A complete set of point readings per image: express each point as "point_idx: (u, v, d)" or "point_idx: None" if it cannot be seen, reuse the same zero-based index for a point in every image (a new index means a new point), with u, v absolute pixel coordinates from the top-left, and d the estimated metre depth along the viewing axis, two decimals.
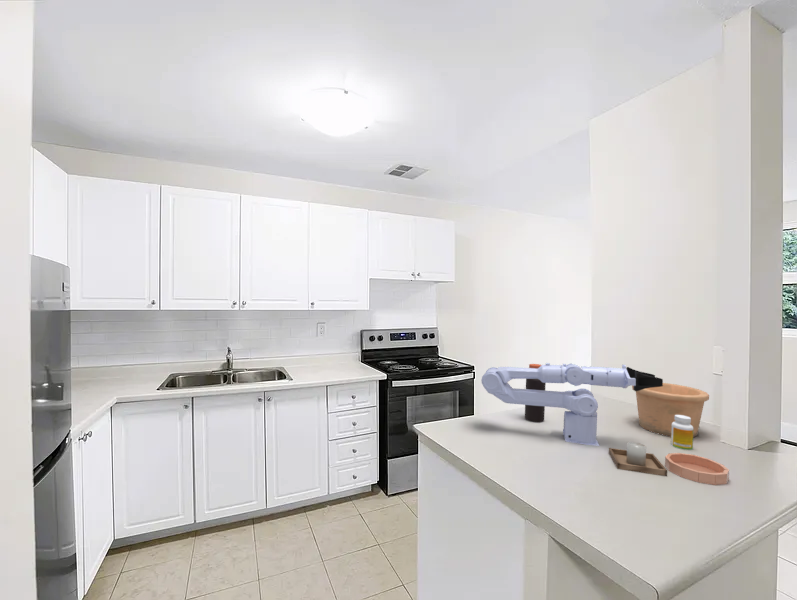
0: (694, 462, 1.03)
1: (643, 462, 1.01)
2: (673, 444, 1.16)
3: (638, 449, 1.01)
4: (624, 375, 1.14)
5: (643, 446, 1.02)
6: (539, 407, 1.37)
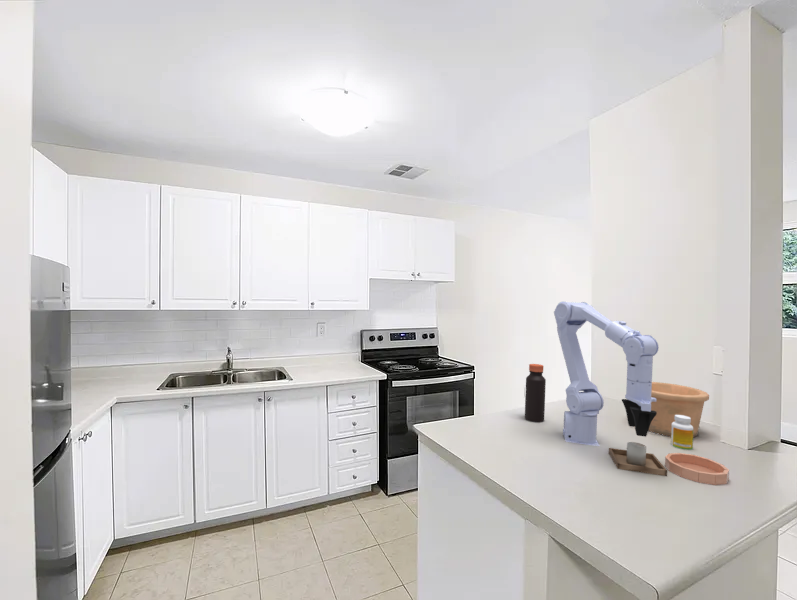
0: (694, 462, 1.03)
1: (643, 462, 1.01)
2: (673, 444, 1.16)
3: (638, 449, 1.01)
4: (646, 399, 1.00)
5: (643, 446, 1.02)
6: (539, 407, 1.37)
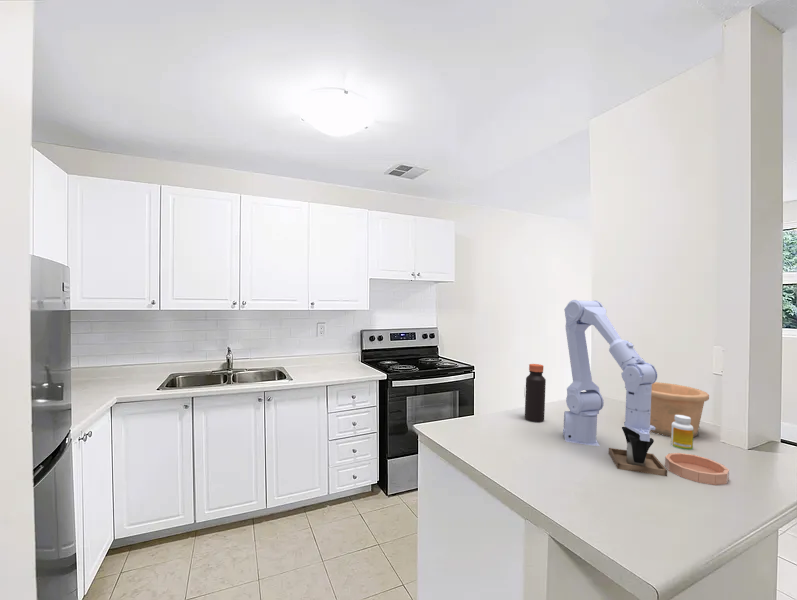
0: (694, 462, 1.03)
1: None
2: (673, 444, 1.16)
3: None
4: (645, 428, 1.00)
5: None
6: (539, 407, 1.37)
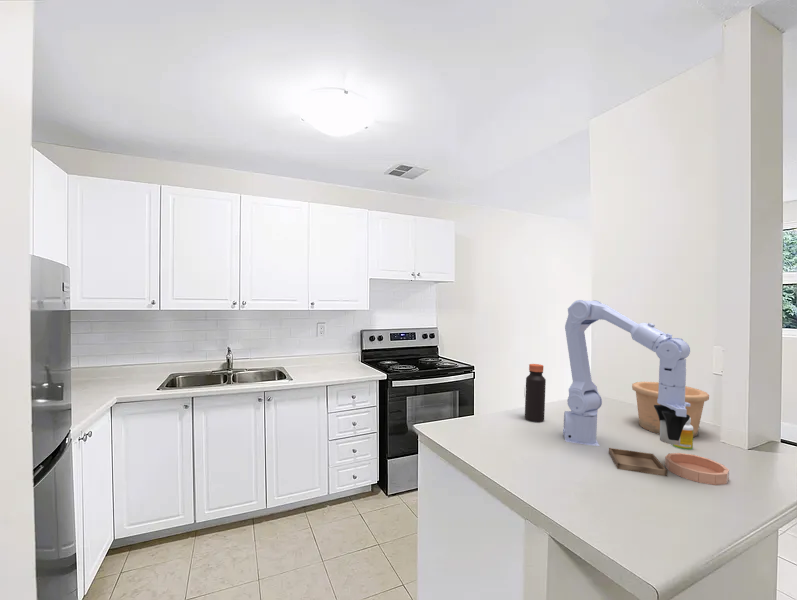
0: (694, 462, 1.03)
1: None
2: None
3: None
4: (680, 404, 0.97)
5: None
6: (539, 407, 1.37)
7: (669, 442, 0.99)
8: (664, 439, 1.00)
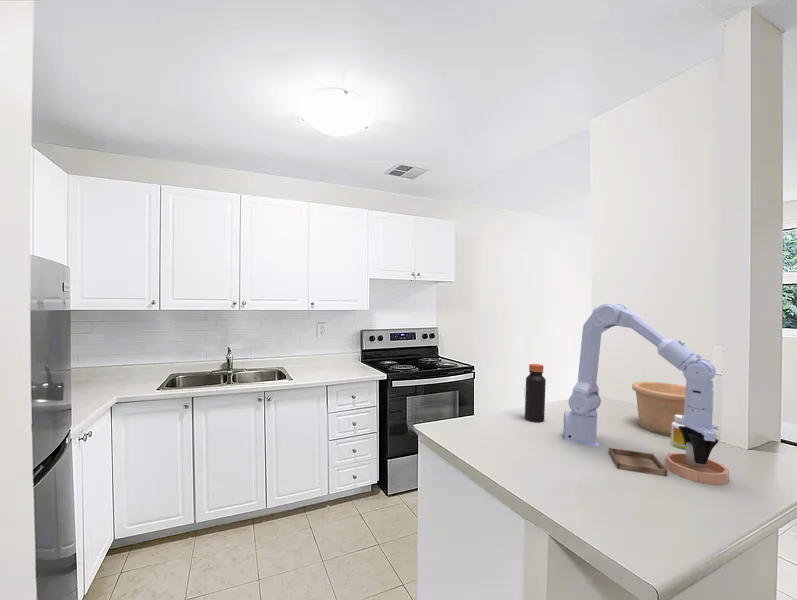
0: None
1: None
2: (673, 444, 1.16)
3: None
4: (707, 427, 0.96)
5: None
6: (539, 407, 1.37)
7: (696, 465, 0.97)
8: (691, 462, 0.98)
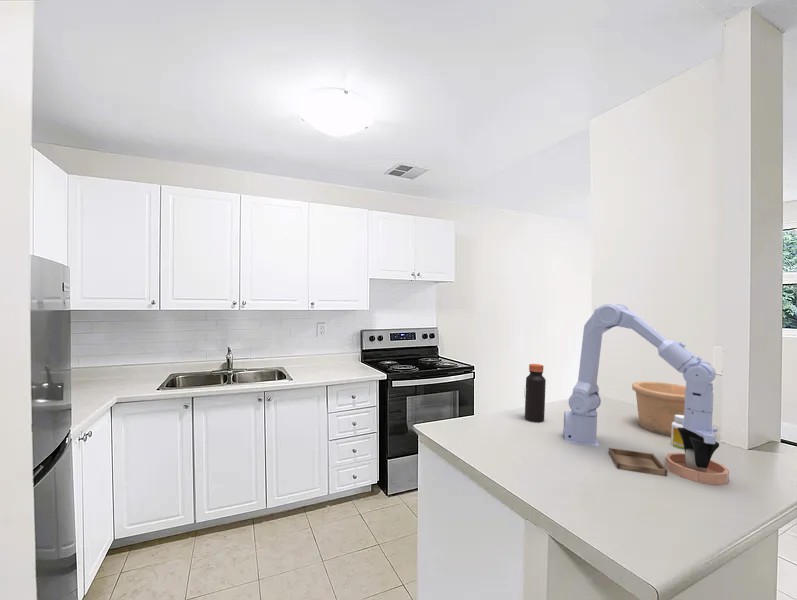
0: None
1: (705, 470, 0.97)
2: (673, 444, 1.16)
3: None
4: (707, 430, 0.96)
5: None
6: (539, 407, 1.37)
7: None
8: None
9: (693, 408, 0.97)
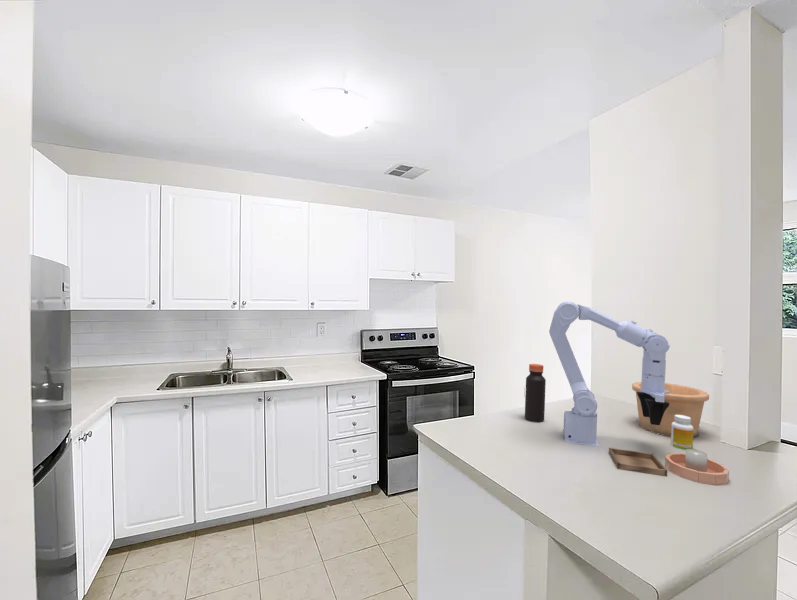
0: None
1: (705, 470, 0.97)
2: (673, 444, 1.16)
3: (699, 457, 0.97)
4: (659, 391, 1.10)
5: (703, 453, 0.98)
6: (539, 407, 1.37)
7: None
8: None
9: (653, 374, 1.10)
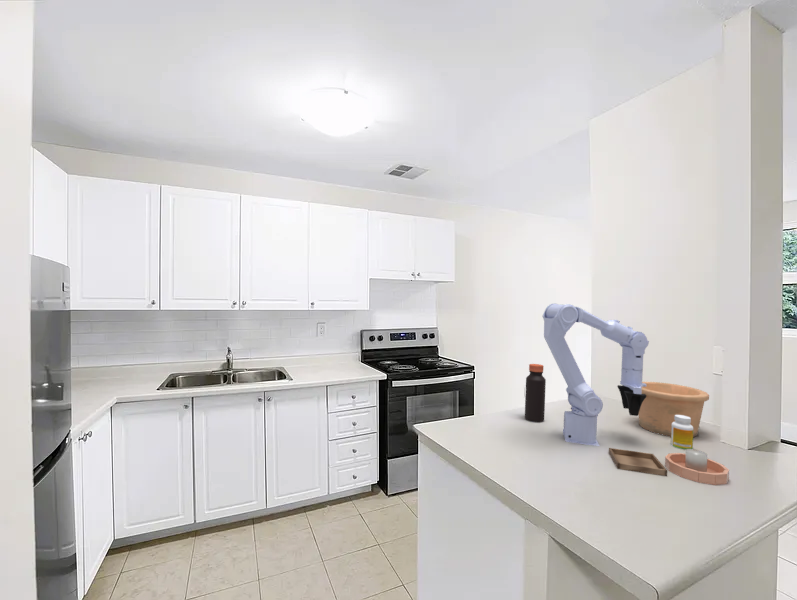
0: None
1: (705, 470, 0.97)
2: (673, 444, 1.16)
3: (699, 457, 0.97)
4: (637, 384, 1.18)
5: (703, 453, 0.98)
6: (539, 407, 1.37)
7: None
8: None
9: (636, 368, 1.18)
